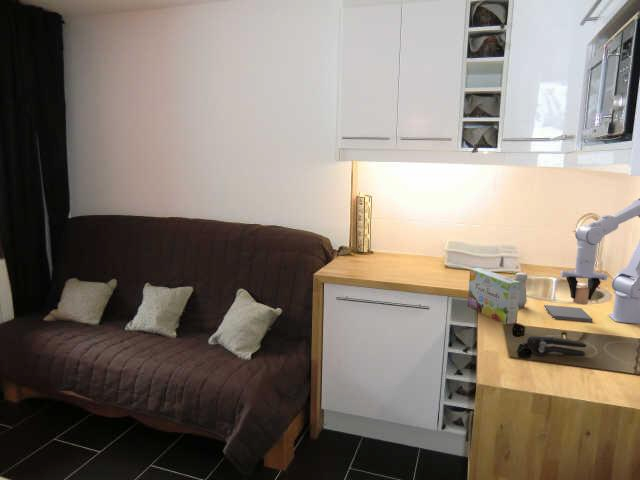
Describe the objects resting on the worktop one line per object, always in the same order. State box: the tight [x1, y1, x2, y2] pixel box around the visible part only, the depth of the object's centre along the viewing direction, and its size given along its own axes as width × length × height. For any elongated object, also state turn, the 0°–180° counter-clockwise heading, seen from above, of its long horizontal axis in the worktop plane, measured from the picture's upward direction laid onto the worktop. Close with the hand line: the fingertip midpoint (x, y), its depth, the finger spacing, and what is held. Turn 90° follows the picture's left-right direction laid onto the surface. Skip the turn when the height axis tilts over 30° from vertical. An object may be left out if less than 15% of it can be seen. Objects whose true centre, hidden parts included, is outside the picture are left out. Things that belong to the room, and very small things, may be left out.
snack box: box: [467, 267, 520, 326], centre depth 178 cm, size 21×6×15 cm, turn 21°
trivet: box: [543, 304, 593, 323], centre depth 182 cm, size 13×13×1 cm
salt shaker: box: [515, 272, 528, 309], centre depth 190 cm, size 6×6×13 cm
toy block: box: [572, 285, 590, 306], centre depth 173 cm, size 5×5×6 cm
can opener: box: [521, 335, 587, 357], centre depth 145 cm, size 18×7×6 cm, turn 88°
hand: (580, 298), depth 174 cm, fingers closed on toy block, 5 cm apart
